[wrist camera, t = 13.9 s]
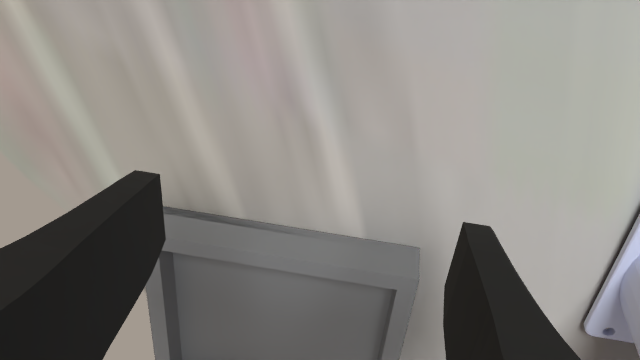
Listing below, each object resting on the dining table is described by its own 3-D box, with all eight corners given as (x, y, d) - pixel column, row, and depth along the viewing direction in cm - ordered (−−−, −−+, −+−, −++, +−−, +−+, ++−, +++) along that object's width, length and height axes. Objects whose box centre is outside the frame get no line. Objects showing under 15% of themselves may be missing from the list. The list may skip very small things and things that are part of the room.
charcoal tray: (419, 248, 26) (419, 279, 24) (380, 408, 33) (378, 441, 31) (156, 205, 27) (138, 233, 25) (173, 370, 34) (160, 400, 32)
